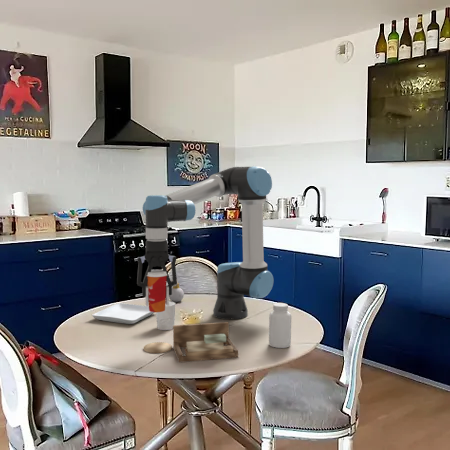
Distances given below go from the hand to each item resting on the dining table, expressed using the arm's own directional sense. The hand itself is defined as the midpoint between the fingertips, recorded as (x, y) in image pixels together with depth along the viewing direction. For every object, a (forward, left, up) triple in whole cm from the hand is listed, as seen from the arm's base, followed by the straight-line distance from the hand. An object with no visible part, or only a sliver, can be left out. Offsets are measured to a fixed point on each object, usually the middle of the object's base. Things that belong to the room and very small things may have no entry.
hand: (157, 304), depth 181 cm
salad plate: (+9, -43, -16) cm, 47 cm away
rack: (-16, +7, -16) cm, 24 cm away
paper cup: (0, 0, -2) cm, 2 cm away
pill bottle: (-44, +6, -16) cm, 47 cm away
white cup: (-6, -24, -16) cm, 30 cm away
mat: (0, 0, -16) cm, 16 cm away
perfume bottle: (-16, -65, -16) cm, 69 cm away
